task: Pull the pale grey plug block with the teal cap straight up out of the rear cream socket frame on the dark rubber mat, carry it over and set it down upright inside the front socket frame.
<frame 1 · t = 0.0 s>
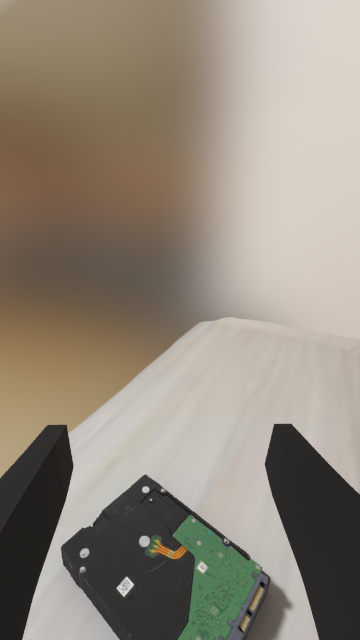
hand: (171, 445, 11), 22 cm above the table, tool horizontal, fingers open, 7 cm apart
disk drive: (162, 580, 26), on the table
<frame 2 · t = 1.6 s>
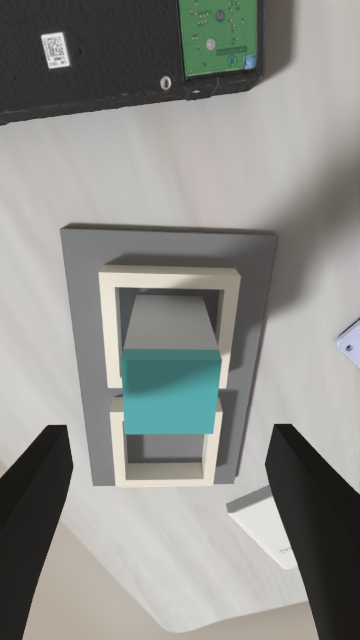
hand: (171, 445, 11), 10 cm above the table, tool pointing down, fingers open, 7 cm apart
external hard drive: (289, 512, 30), on the table
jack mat: (167, 381, 22), on the table
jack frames: (167, 392, 20), on the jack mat, point 1 cm above the table
plug: (168, 325, 19), resting on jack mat
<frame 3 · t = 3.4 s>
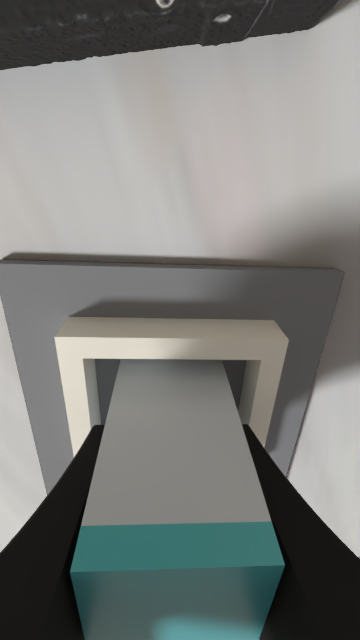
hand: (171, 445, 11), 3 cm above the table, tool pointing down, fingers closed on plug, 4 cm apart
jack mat: (167, 466, 15), on the table
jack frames: (167, 490, 14), on the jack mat, point 1 cm above the table
plug: (170, 399, 13), resting on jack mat, touching gripper
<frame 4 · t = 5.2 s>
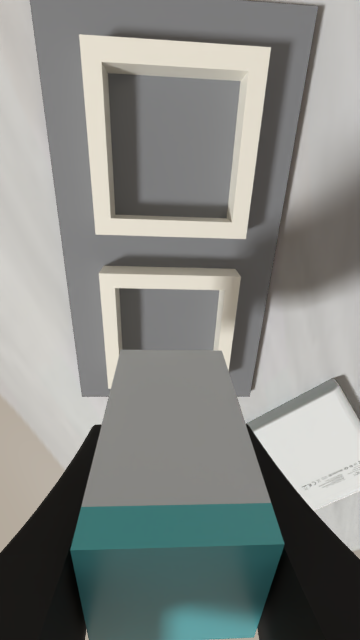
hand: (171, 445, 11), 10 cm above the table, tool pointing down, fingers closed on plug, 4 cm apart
external hard drive: (312, 442, 26), on the table
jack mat: (170, 247, 17), on the table
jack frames: (171, 253, 16), on the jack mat
plug: (170, 390, 13), point 7 cm above the table, touching gripper
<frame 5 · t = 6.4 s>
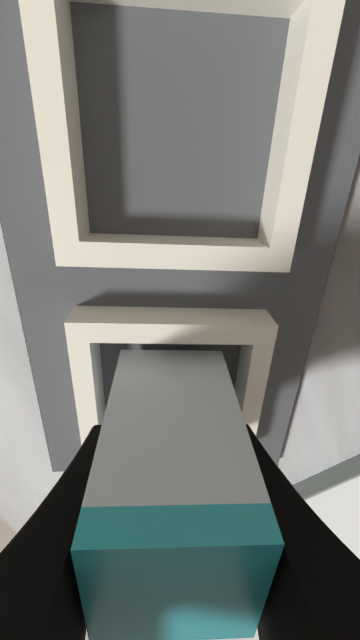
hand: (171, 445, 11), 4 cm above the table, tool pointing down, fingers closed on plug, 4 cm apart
external hard drive: (349, 511, 21), on the table
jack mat: (173, 279, 12), on the table
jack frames: (173, 290, 11), on the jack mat
plug: (170, 390, 13), point 1 cm above the table, touching gripper
when the fingers open (4 cm above the table, at t = 7.1 s): plug stays where it is, resting on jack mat.
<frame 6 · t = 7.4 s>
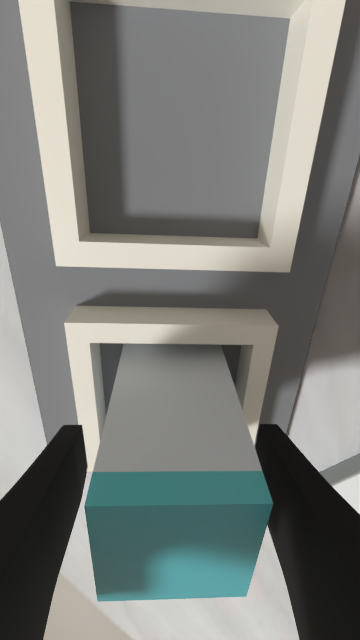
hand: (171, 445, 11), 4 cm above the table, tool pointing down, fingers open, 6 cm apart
external hard drive: (350, 510, 21), on the table
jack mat: (173, 279, 12), on the table
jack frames: (173, 290, 11), on the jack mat
plug: (170, 379, 14), resting on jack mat
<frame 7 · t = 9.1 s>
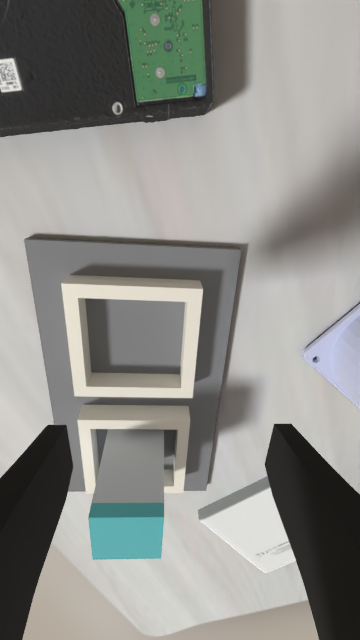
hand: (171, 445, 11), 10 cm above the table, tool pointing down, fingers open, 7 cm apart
external hard drive: (264, 516, 30), on the table
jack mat: (136, 389, 22), on the table
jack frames: (135, 401, 21), on the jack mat, point 1 cm above the table
plug: (136, 440, 23), resting on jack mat
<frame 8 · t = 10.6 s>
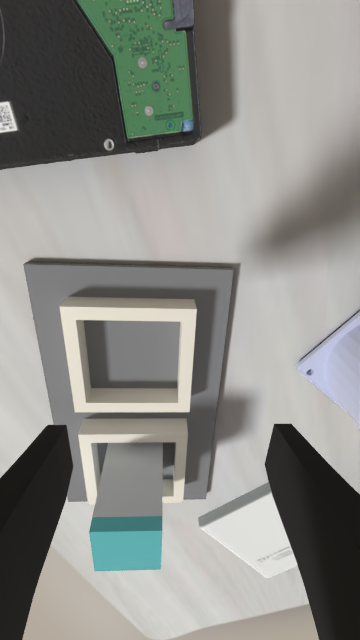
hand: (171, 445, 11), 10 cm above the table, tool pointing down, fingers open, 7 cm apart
external hard drive: (264, 521, 31), on the table
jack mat: (135, 403, 22), on the table
disk drive: (26, 39, 14), on the table
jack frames: (134, 415, 21), on the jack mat, point 1 cm above the table
plug: (136, 452, 24), resting on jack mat
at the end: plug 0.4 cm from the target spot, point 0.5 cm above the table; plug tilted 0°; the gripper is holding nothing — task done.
